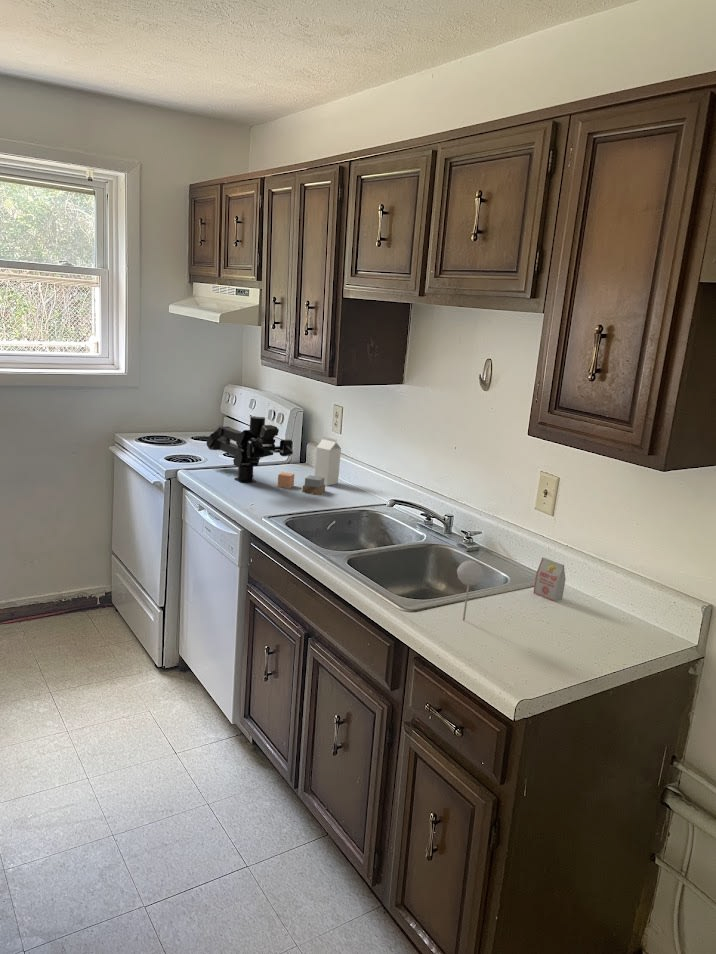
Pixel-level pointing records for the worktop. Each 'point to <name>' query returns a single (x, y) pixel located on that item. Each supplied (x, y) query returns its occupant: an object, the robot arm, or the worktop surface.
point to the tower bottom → (313, 489)
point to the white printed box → (550, 580)
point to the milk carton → (328, 461)
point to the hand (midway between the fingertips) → (281, 453)
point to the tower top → (314, 481)
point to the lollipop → (469, 576)
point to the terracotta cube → (285, 480)
